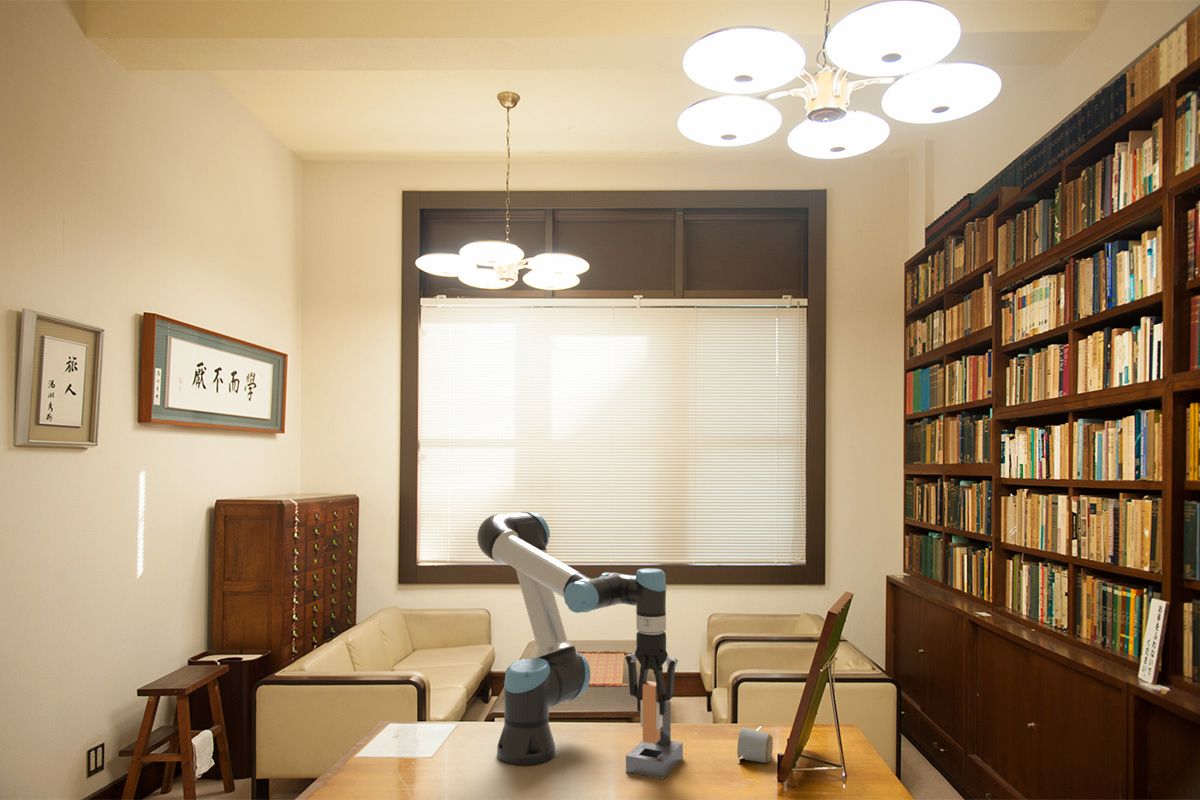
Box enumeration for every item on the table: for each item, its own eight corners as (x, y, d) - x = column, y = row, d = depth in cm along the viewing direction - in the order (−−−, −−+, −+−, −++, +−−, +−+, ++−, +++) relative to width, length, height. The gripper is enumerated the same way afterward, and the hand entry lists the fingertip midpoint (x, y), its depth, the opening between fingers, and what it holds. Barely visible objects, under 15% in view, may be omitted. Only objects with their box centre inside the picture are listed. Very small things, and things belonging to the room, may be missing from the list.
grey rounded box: (769, 768, 200) (769, 736, 200) (736, 763, 203) (736, 732, 203) (775, 753, 210) (775, 724, 210) (744, 749, 212) (744, 720, 213)
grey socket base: (625, 772, 196) (626, 714, 197) (647, 751, 210) (648, 697, 211) (663, 779, 192) (663, 720, 193) (683, 757, 206) (683, 702, 207)
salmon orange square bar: (642, 741, 198) (642, 684, 198) (647, 737, 201) (647, 681, 202) (655, 743, 196) (655, 686, 197) (660, 739, 199) (660, 682, 200)
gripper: (615, 631, 200) (615, 726, 199) (677, 637, 193) (677, 736, 192) (626, 625, 207) (627, 717, 205) (686, 631, 200) (687, 726, 199)
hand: (651, 726), depth 199 cm, fingers closed on salmon orange square bar, 3 cm apart
